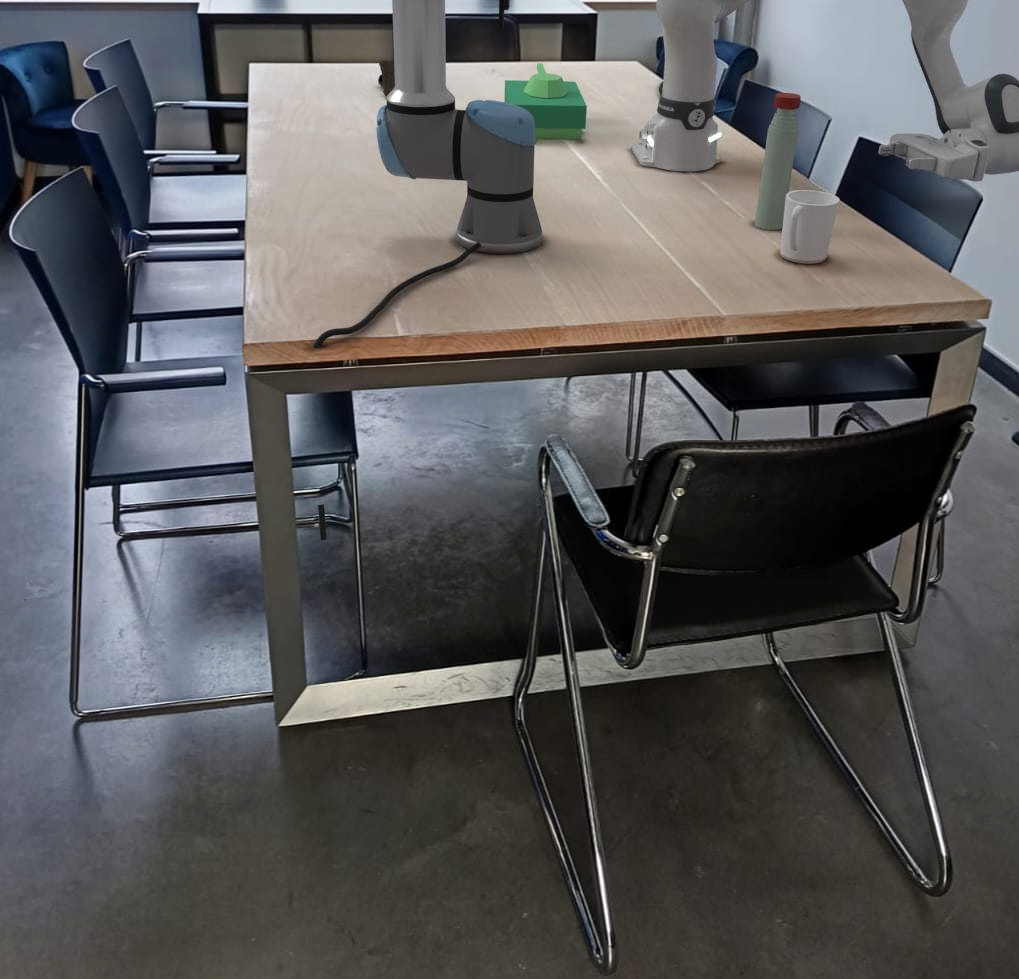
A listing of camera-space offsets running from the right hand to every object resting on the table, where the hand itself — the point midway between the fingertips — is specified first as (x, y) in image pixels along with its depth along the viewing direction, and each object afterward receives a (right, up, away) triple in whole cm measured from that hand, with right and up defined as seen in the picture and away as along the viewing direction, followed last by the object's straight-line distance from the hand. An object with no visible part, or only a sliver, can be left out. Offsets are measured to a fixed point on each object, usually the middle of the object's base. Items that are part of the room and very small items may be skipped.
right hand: (894, 157), depth 205 cm
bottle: (-23, -13, +1) cm, 26 cm away
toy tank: (-64, +27, +64) cm, 95 cm away
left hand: (-81, +33, +19) cm, 89 cm away
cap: (-23, +7, -11) cm, 26 cm away
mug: (-21, -22, -14) cm, 34 cm away
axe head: (-101, +47, +95) cm, 147 cm away
